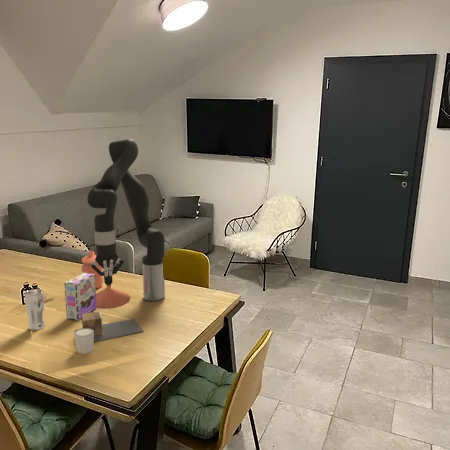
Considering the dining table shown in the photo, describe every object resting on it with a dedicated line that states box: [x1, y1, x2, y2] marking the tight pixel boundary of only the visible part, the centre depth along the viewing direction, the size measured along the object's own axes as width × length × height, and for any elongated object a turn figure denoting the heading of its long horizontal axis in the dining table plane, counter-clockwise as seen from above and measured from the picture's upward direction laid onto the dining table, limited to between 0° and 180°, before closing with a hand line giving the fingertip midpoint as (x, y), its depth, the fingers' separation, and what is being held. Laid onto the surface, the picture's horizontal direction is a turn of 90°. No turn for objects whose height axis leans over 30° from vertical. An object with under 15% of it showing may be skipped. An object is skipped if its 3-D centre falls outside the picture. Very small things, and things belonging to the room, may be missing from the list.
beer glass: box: [24, 288, 46, 331], centre depth 179 cm, size 7×7×15 cm
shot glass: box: [73, 328, 95, 355], centre depth 162 cm, size 7×7×7 cm
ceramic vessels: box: [81, 251, 131, 310], centre depth 212 cm, size 35×21×19 cm, turn 38°
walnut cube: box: [81, 310, 103, 336], centre depth 174 cm, size 7×7×7 cm
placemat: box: [74, 318, 144, 343], centre depth 177 cm, size 24×13×1 cm, turn 118°
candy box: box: [64, 272, 98, 321], centre depth 192 cm, size 14×6×16 cm, turn 162°
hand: (108, 284), depth 173 cm, fingers closed
